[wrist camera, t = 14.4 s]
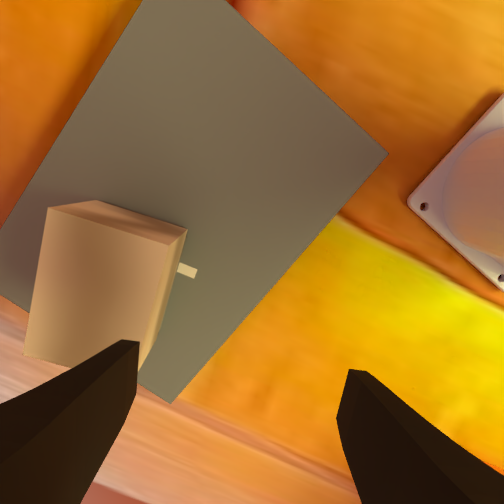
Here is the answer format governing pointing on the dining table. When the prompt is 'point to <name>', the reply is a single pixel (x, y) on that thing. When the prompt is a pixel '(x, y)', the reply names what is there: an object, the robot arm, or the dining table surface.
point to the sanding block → (100, 281)
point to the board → (198, 170)
